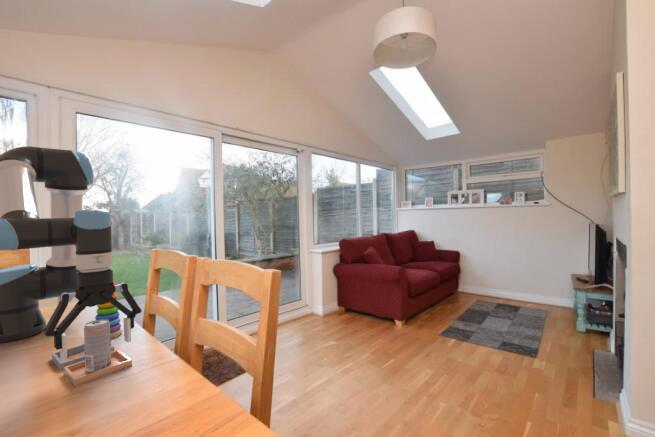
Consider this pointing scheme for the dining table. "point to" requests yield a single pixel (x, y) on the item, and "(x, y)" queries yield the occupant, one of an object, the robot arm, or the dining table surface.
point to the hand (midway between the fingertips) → (97, 350)
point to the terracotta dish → (80, 376)
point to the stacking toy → (110, 316)
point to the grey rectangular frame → (70, 351)
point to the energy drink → (97, 345)
